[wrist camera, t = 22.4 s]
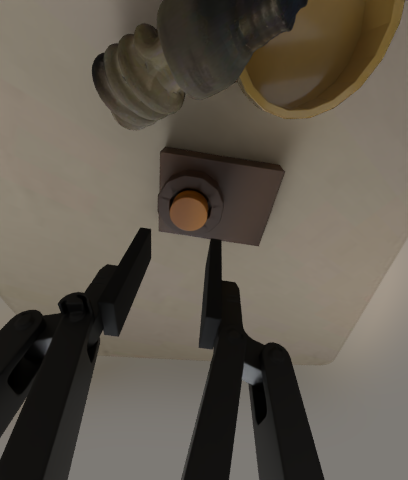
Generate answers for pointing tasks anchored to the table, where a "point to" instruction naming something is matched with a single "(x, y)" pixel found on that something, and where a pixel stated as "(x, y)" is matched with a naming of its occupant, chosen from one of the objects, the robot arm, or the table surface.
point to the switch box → (220, 193)
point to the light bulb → (185, 55)
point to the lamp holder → (320, 56)
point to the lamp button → (189, 210)
